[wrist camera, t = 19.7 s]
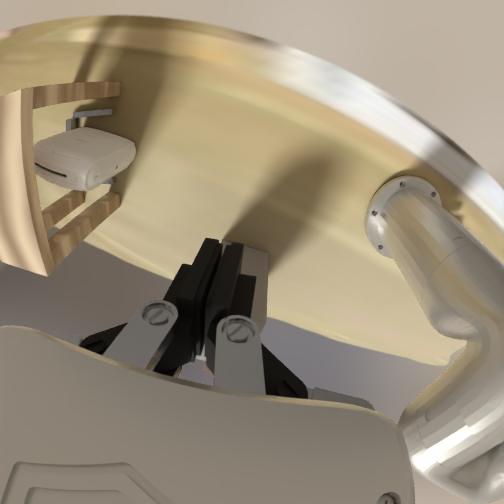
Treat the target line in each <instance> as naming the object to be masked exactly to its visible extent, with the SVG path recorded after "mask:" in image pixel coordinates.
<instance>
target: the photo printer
mask: <svg viewBox="0 0 504 504" xmlns="http://www.w3.org/2000/svg"><path fill="white" fill-rule="evenodd" d="M134 144H135V143H134V142H132V141H130V140H128V139H126V138H123V137H120V136H118V135H115V134H112V133H109V132H105V131H102V130H98V129H94V128H89V127H80V128H76V129H73V130H70V131H66V132H63V133H60V134H57V135H54V136H52V137H49V138H46V139H43V140H41V141H39V142H38V143H36V144H35V145H34V147H33V149H34V162H35V171H36V174H37V175H38V176H40V177H41V178H43V179H45V180H46V181H48V182H50V183H53V184H56V185H58V186H61V187H64V188H68V189H72V190H77V191H91V190H93V189H95V188H96V187H98V186H99V185H100V184H102V183H104V182H105V181H107V180H108V179H110V178H111V177H113V176H114V175H116V174H118V173H119V172H121V171H123V170H124V169H126V168H127V167H128V166H129V164H130V163H131V162H132V161H133V160H134V158H135V155H136V148H135V145H134Z"/></svg>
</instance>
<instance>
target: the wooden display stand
mask: <svg viewBox="0 0 504 504" xmlns="http://www.w3.org/2000/svg"><path fill="white" fill-rule="evenodd" d="M120 88H121V82H81V83H66V84H55V85H46V86H38V87H31V88H25V89H20V90H17V91H14V92H12V93H9V94H6V95H4V96H1V97H0V259H1V261H2V262H4V263H7V264H10V265H13V266H16V267H19V268H22V269H25V270H28V271H31V272H35V273H38V274H41V275H45V276H48V275H49V274H50V273H51V272H52V271H53V270H54V269H55V268H56V267H57V266H58V265H59V264H60V263H61V262H62V261H63V259H64V258H65V257H66V256H67V255H68V254H69V253H70V252H71V251H72V250H73V249H74V248H75V247H76V246H77V245H78V244H79V243H80V242H81V241H82V240H83V239H85V238H86V237H87V236H88V235H89V234H90V233H91V232H92V231H93V230H94V229H95V228H96V227H97V226H98V225H99V224H101V223H102V222H103V221H104V220H105V219H106V218H107V217H108V216H110V215H111V214H112V213H113V212H114V211H115V210H116V209H118V208H119V207H120V194H119V193H109V192H108V193H107V194H105V195H104V196H103V197H101V198H100V199H98V200H97V201H96V202H94V203H93V204H92V205H90V206H89V207H88V208H87V209H85V210H84V211H83V212H81V213H80V214H79V215H78V216H76V217H75V218H74V219H73V220H71V221H70V222H69V223H68V224H66V225H65V226H64V227H63V228H62V229H60V230H59V231H58V232H57V233H56V234H55V235H54V236H52V237H51V238H50V239H49V240H47V235H46V231H48V230H49V229H50V228H51V227H53V226H54V225H55V224H56V223H58V222H59V221H60V220H61V219H63V218H64V217H65V216H67V215H68V214H69V213H70V212H72V211H73V210H74V209H76V208H77V207H78V206H80V205H81V204H83V203H84V197H83V191H77V190H73V191H71V192H69V193H68V194H66V195H65V196H63V197H62V198H60V199H59V200H57V201H56V202H54V203H53V204H51V205H50V206H48V207H47V208H46V209H44V210H43V211H41V206H40V200H39V194H38V187H37V180H36V171H35V162H34V149H33V125H32V109H36V108H40V107H45V106H50V105H55V104H60V103H66V102H72V101H79V100H86V99H94V98H103V97H114V96H120Z"/></svg>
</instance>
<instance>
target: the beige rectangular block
mask: <svg viewBox="0 0 504 504" xmlns="http://www.w3.org/2000/svg"><path fill="white" fill-rule="evenodd" d="M231 243H232V242H229V241H225V240H222V242H221V244H223V250H222V255H223V252H224V249H225V247H226V245H231ZM268 258H269V252H265V251H261V250H258V249H254V248H251V247H247V246H244V251H243V259H242V266H241V274H246V275H252V276H257V278H256V285H255V292H254V299H253V306H252V312H251V319H252V320H253V321H254V322H255V323H256V324H257V325H258V327H259V330H260V334H261V332H262V330H263V328H264V325H265V324H266V314H267V288H268ZM204 348H205V344H204V347H203V351H202V354H201V356H198V355H196V358H197V359H200V360H204V361H206V357H205V356H204ZM203 372H204V373H208V374H212V375H213V373H212V372H211V371H210V370H209V368H208V367H207V366H206V362H205V365H204V369H203Z"/></svg>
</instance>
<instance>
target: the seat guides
mask: <svg viewBox="0 0 504 504" xmlns="http://www.w3.org/2000/svg"><path fill="white" fill-rule="evenodd" d="M114 114H116V108H114V109H100V110H89V111H80V112H74V113H73V118H71V119H67V120H66V131H70V130H73V129H76V128H77V118H78V117H88V116H101V115H114ZM115 182H116V177H111V178H110V179H108V180H107V181H105V182H104V183H102V184H114V183H115Z"/></svg>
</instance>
